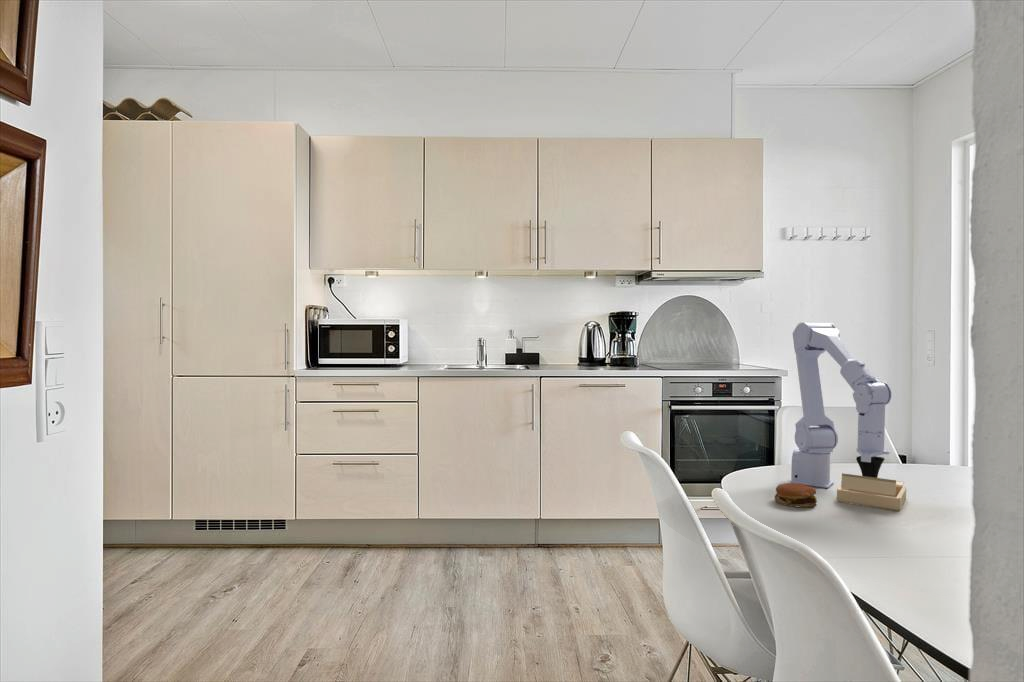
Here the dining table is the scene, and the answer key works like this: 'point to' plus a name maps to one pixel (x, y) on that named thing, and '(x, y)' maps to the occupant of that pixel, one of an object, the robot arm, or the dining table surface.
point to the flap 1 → (868, 484)
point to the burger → (795, 495)
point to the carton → (873, 498)
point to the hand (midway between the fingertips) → (869, 486)
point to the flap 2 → (899, 483)
